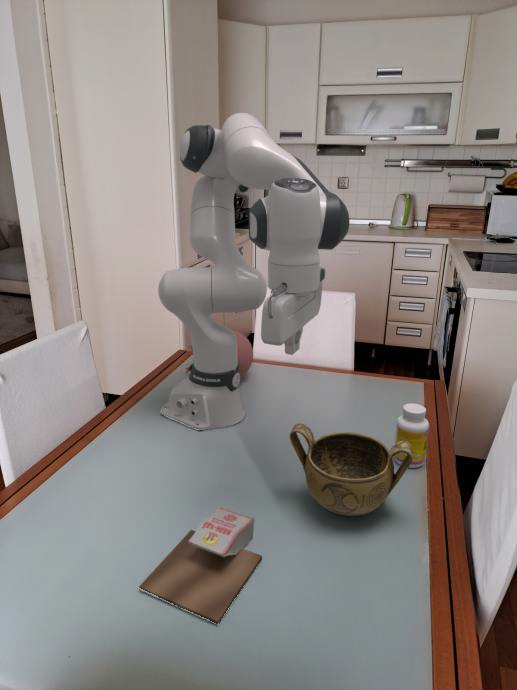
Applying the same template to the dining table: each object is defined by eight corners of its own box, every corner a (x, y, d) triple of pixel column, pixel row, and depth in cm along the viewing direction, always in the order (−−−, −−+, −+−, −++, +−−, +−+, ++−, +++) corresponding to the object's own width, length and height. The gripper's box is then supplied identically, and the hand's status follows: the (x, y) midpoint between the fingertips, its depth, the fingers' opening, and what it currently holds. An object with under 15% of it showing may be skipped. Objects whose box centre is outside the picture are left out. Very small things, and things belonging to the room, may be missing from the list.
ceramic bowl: (277, 517, 91) (278, 446, 86) (301, 468, 106) (303, 405, 101) (402, 545, 84) (411, 470, 79) (409, 488, 99) (416, 421, 94)
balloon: (201, 365, 163) (199, 320, 158) (259, 371, 157) (259, 325, 152) (181, 383, 149) (178, 335, 144) (244, 391, 143) (243, 341, 138)
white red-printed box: (252, 538, 86) (222, 567, 77) (219, 526, 89) (187, 553, 80) (254, 519, 85) (224, 545, 77) (221, 507, 88) (188, 531, 80)
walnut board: (139, 590, 76) (139, 586, 75) (191, 533, 87) (191, 529, 87) (217, 625, 70) (217, 621, 69) (262, 559, 81) (262, 555, 81)
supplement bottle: (426, 470, 105) (433, 416, 101) (394, 467, 106) (399, 414, 102) (423, 454, 111) (429, 402, 107) (392, 451, 112) (397, 400, 108)
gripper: (288, 294, 75) (286, 376, 80) (328, 267, 93) (325, 337, 98) (250, 289, 78) (252, 370, 83) (297, 265, 95) (295, 332, 100)
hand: (292, 351), depth 90 cm, fingers closed
